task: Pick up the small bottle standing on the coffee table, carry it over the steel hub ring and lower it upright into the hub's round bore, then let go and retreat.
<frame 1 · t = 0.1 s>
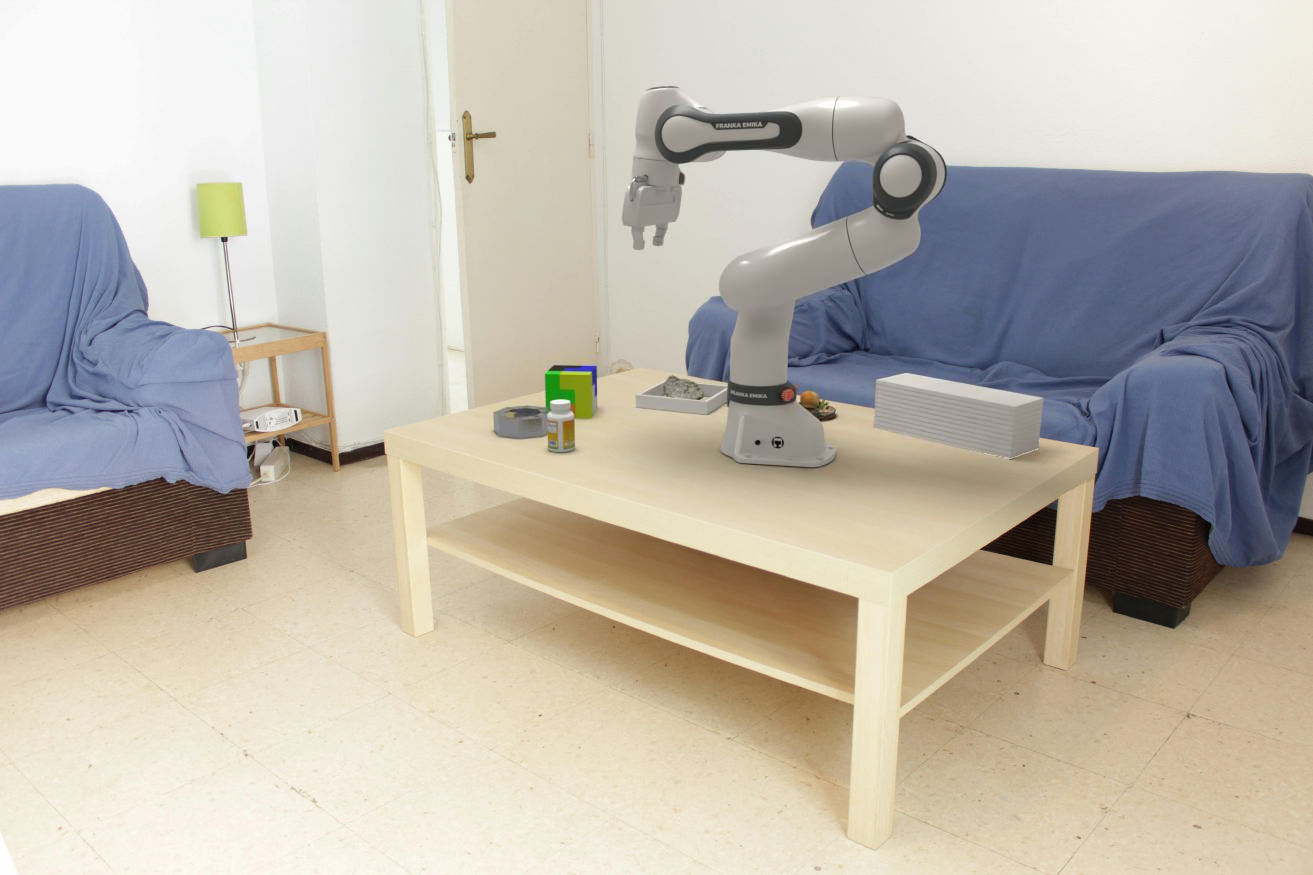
hand: (648, 247, 197), 39 cm above the table, tool pointing down, fingers open, 8 cm apart
grey sample tray: (685, 402, 237), on the table
stack of papers: (952, 440, 207), on the table
steel hub: (523, 430, 213), on the table
supplement bottle: (561, 450, 200), on the table
puzzle toy: (572, 413, 228), on the table
rock sample: (684, 404, 237), on the table
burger: (809, 417, 226), on the table
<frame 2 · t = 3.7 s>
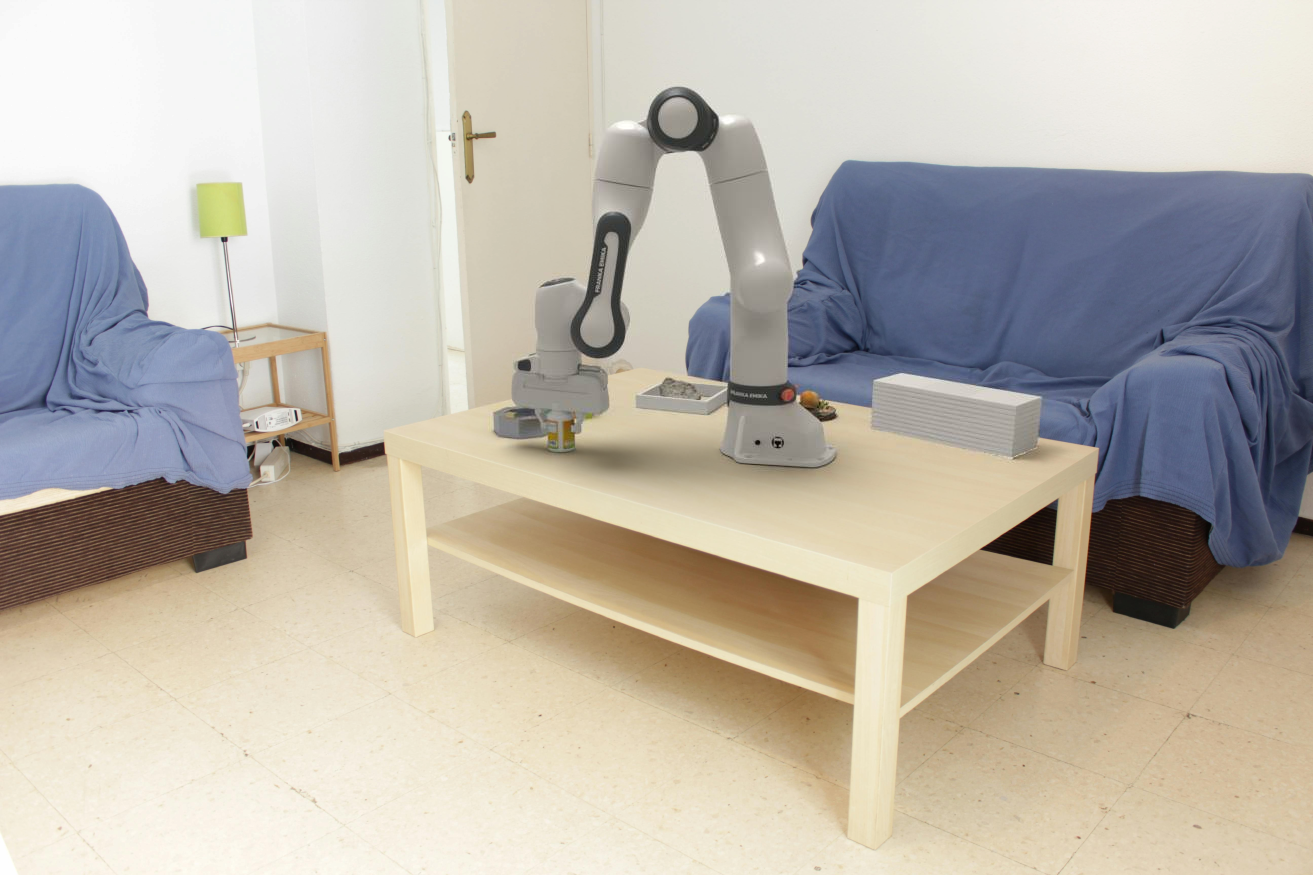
hand: (561, 431, 199), 4 cm above the table, tool pointing down, fingers closed on supplement bottle, 5 cm apart
supplement bottle: (561, 449, 200), on the table, touching gripper
rock sample: (682, 406, 235), on the table
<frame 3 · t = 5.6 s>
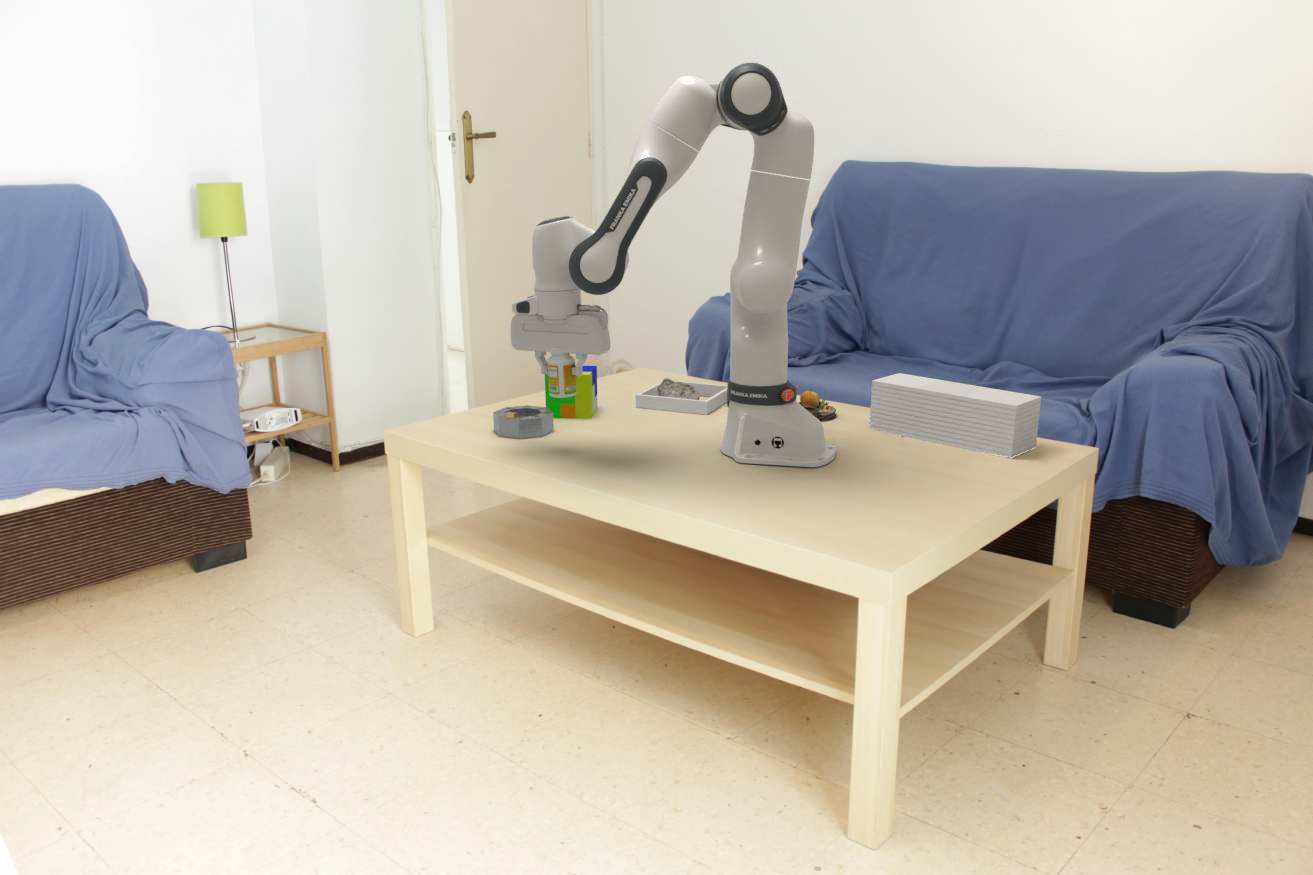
hand: (561, 374, 196), 15 cm above the table, tool pointing down, fingers closed on supplement bottle, 5 cm apart
supplement bottle: (562, 395, 197), point 11 cm above the table, touching gripper
rock sample: (681, 407, 234), on the table
everything else where it was.
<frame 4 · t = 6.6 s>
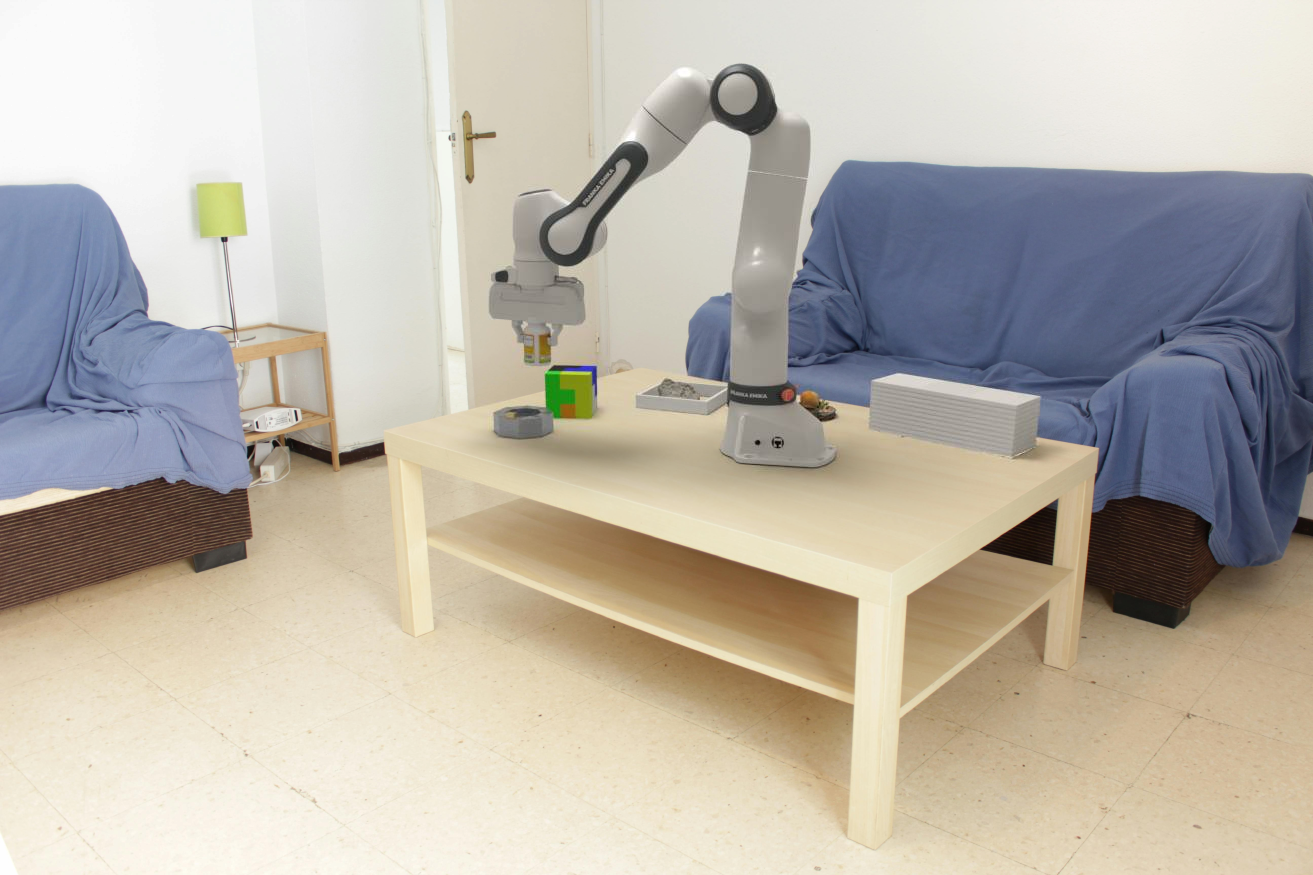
hand: (537, 344, 200), 20 cm above the table, tool pointing down, fingers closed on supplement bottle, 5 cm apart
supplement bottle: (537, 365, 202), point 16 cm above the table, touching gripper
everything else where it was.
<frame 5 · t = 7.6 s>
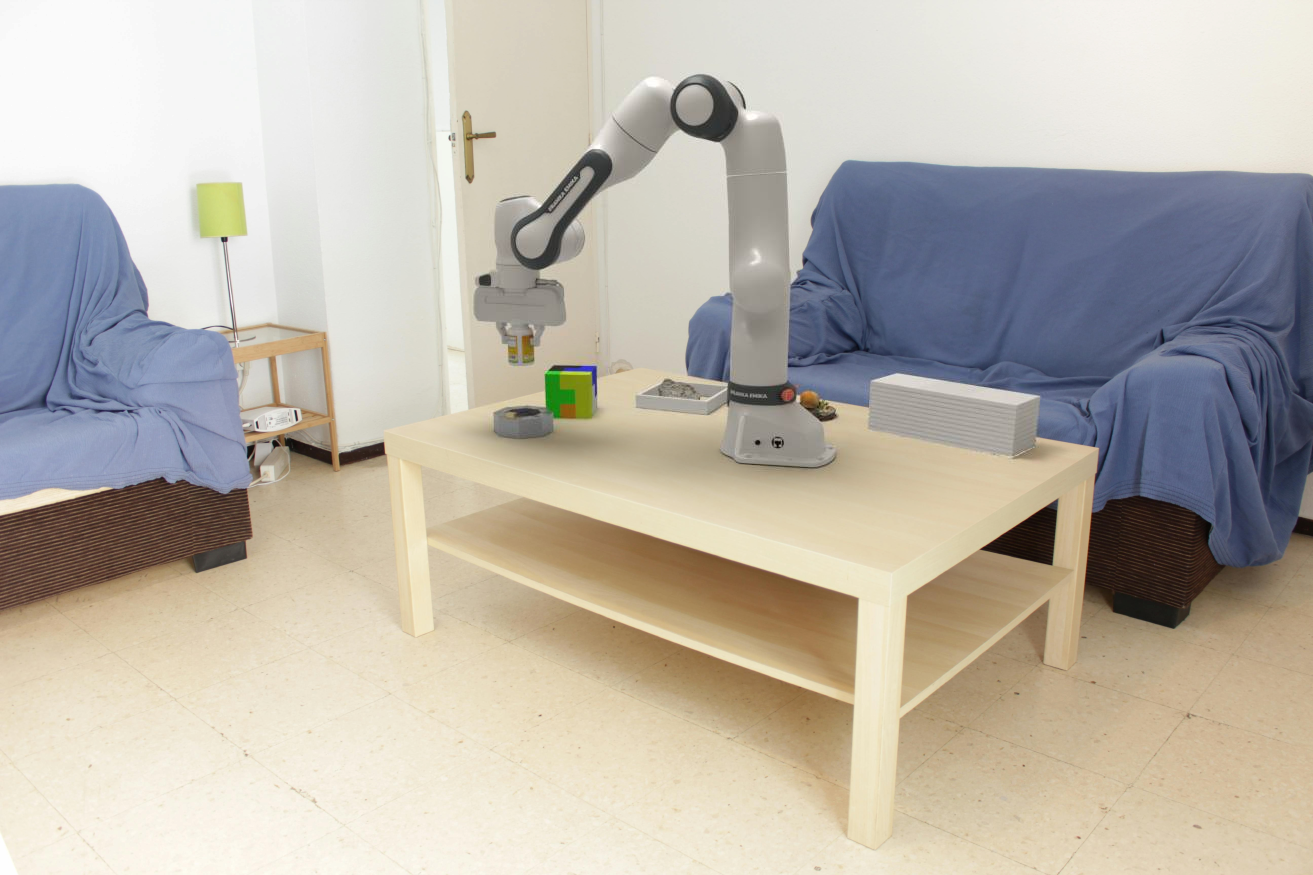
hand: (520, 345, 208), 18 cm above the table, tool pointing down, fingers closed on supplement bottle, 5 cm apart
supplement bottle: (521, 364, 209), point 14 cm above the table, touching gripper
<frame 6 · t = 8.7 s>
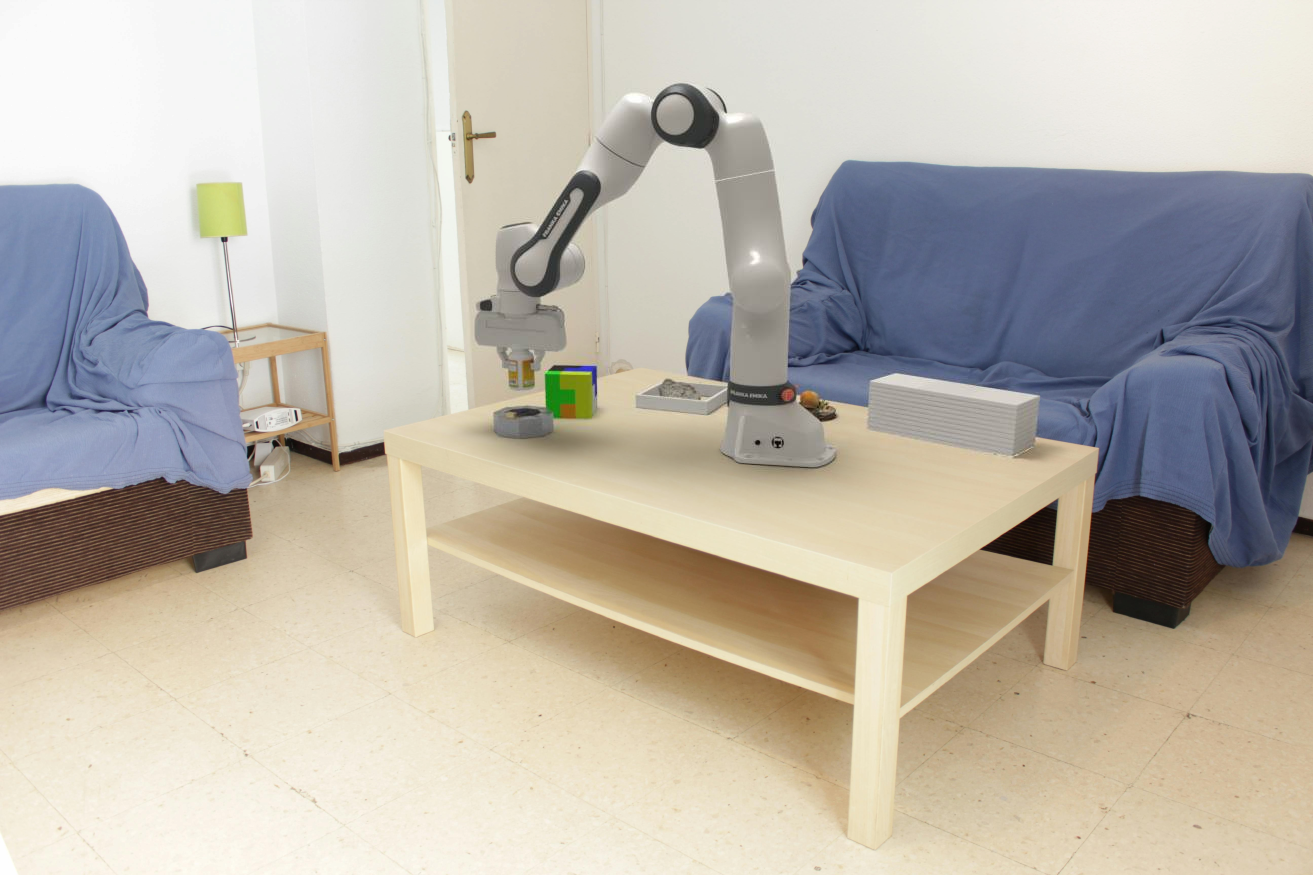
hand: (521, 369, 209), 13 cm above the table, tool pointing down, fingers closed on supplement bottle, 5 cm apart
supplement bottle: (521, 389, 210), point 9 cm above the table, touching gripper
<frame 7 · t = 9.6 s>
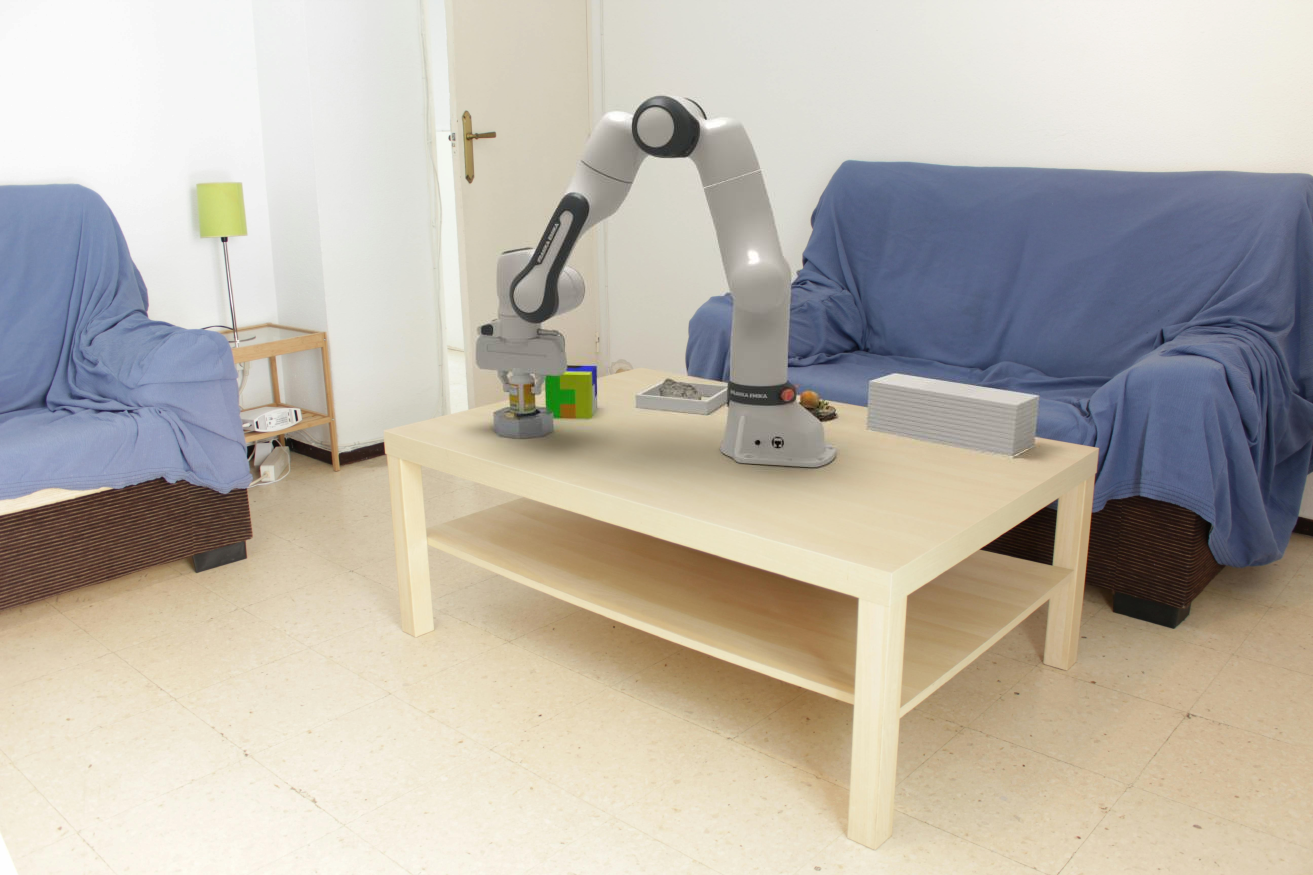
hand: (522, 392, 211), 8 cm above the table, tool pointing down, fingers closed on supplement bottle, 5 cm apart
supplement bottle: (522, 412, 212), point 4 cm above the table, touching gripper
everything else where it was.
when the fingers open (6 cm above the table, at t = 10.8 s): supplement bottle drops 2 cm, on the table.
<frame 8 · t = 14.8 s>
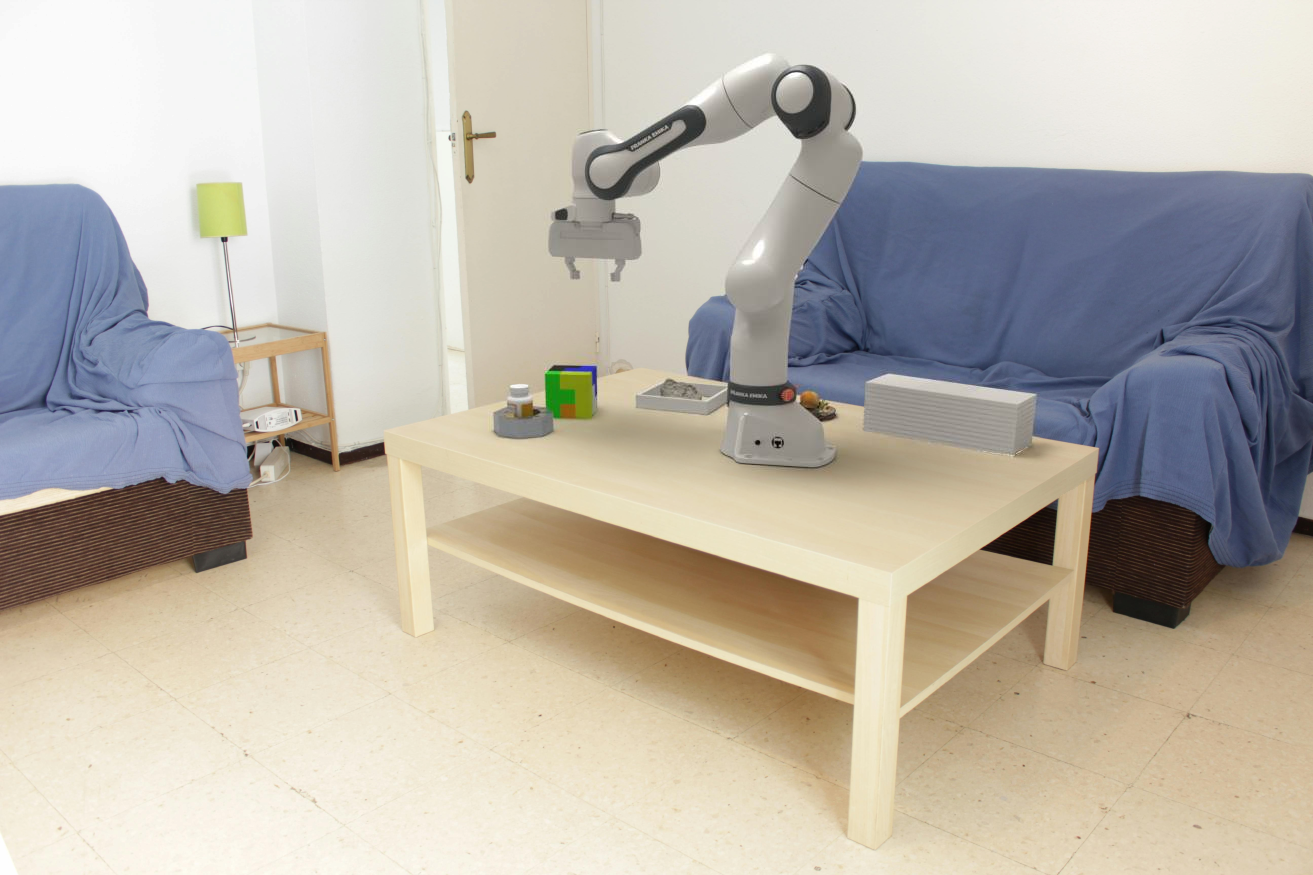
hand: (595, 280, 210), 31 cm above the table, tool pointing down, fingers open, 8 cm apart
supplement bottle: (521, 431, 213), on the table
at the end: supplement bottle 0.7 cm from the steel hub (horizontally); supplement bottle on the table; supplement bottle tilted 0° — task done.
